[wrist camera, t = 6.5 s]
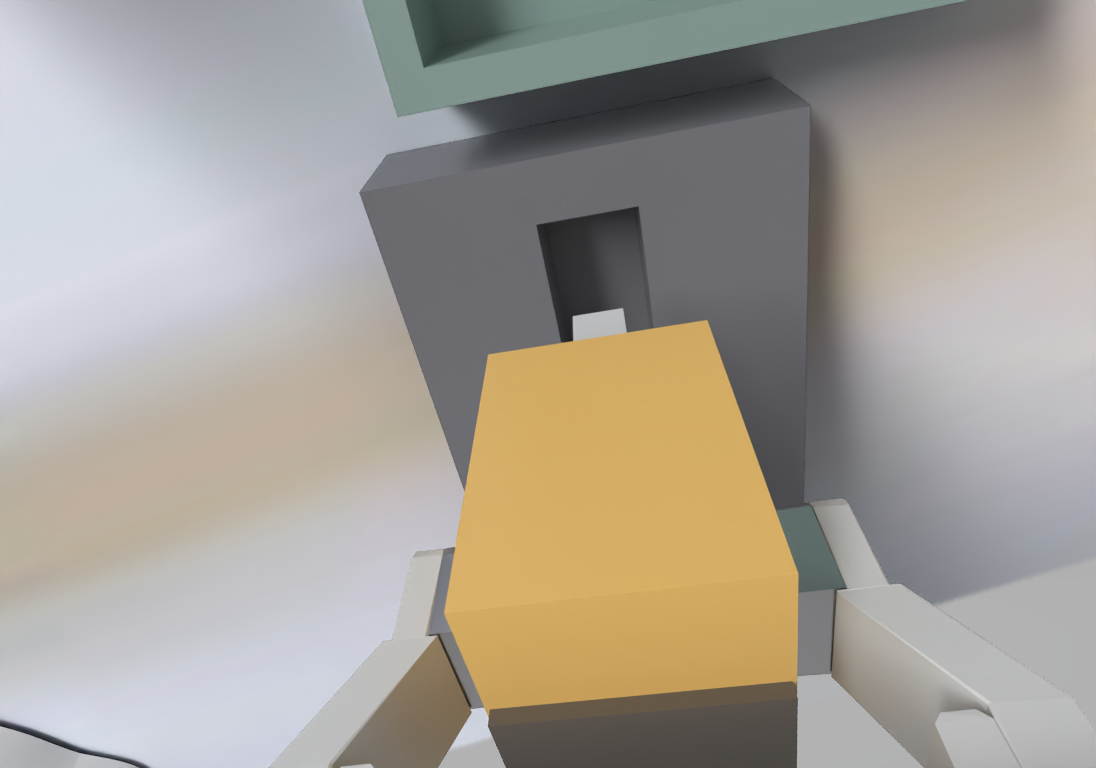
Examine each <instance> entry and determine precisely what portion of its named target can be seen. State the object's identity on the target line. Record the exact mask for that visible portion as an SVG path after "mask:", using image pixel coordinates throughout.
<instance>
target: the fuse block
mask: <svg viewBox="0 0 1096 768" xmlns="http://www.w3.org/2000/svg"><path fill="white" fill-rule="evenodd" d="M809 162H810V105H809V104H808V103H806V102H805V101H804V100H802V99H801V98H800V97H798V96H797V95H796V94H794V93H793V92H792V91H790V90H789V89H788V88H786V87H785V86H784V85H782V84H781V83H780V82H778V81H777V80H776V79H774V78H772V79H767V80H762V81H757V82H752V83H747V84H742V85H737V86H732V87H727V88H721V89H716V90H711V91H706V92H701V93H696V94H691V95H686V96H681V97H676V98H671V99H666V100H661V101H656V102H651V103H646V104H641V105H636V106H631V107H626V108H621V109H616V110H611V111H605V112H600V113H595V114H590V115H585V116H580V117H575V118H570V119H565V120H560V121H555V122H550V123H545V124H540V125H535V126H530V127H525V128H520V129H515V130H510V131H505V132H500V133H495V134H490V135H484V136H479V137H474V138H469V139H464V140H459V141H454V142H449V143H444V144H439V145H434V146H429V147H424V148H419V149H414V150H409V151H404V152H399V153H394V154H389V155H386V157H385V158H384V159H383V161H382V162H381V164H380V165H379V166H378V168H377V169H376V170H375V172H374V173H373V174H372V176H371V177H370V179H369V180H368V181H367V183H366V184H365V185H364V187H363V188H362V190H361V191H360V192H359V193H360V196H361V198H362V201H363V204H364V207H365V210H366V213H367V215H368V218H369V221H370V224H371V227H372V230H373V233H374V235H375V238H376V241H377V244H378V247H379V250H380V252H381V255H382V258H383V261H384V264H385V267H386V269H387V272H388V275H389V278H390V281H391V284H392V287H393V289H394V292H395V295H396V298H397V301H398V304H399V306H400V309H401V312H402V315H403V318H404V321H405V323H406V326H407V329H408V332H409V335H410V338H411V341H412V343H413V346H414V349H415V352H416V355H417V358H418V360H419V363H420V366H421V369H422V372H423V375H424V377H425V380H426V383H427V386H428V389H429V392H430V395H431V397H432V400H433V403H434V406H435V409H436V412H437V414H438V417H439V420H440V423H441V426H442V429H443V431H444V434H445V437H446V440H447V443H448V446H449V449H450V451H451V454H452V457H453V460H454V463H455V466H456V468H457V471H458V474H459V477H460V480H461V483H462V485H463V488H464V491H465V487H466V481H467V476H468V470H469V464H470V458H471V452H472V446H473V440H474V435H475V429H476V423H477V417H478V411H479V405H480V399H481V394H482V388H483V382H484V376H485V370H486V364H487V358H488V354H495V353H501V352H507V351H514V350H520V349H527V348H533V347H539V346H546V345H552V344H558V343H565V342H571V341H573V316H577V315H583V314H590V313H596V312H602V311H608V310H614V309H620V308H623V311H624V318H625V324H626V331H627V333H628V332H634V331H641V330H647V329H653V328H660V327H666V326H672V325H679V324H685V323H691V322H698V321H704V320H707V321H708V324H709V326H710V329H711V332H712V335H713V337H714V340H715V343H716V346H717V349H718V351H719V354H720V357H721V360H722V363H723V365H724V368H725V371H726V374H727V376H728V379H729V382H730V385H731V388H732V390H733V393H734V396H735V399H736V401H737V404H738V407H739V410H740V413H741V415H742V418H743V421H744V424H745V427H746V429H747V432H748V435H749V438H750V440H751V443H752V446H753V449H754V452H755V454H756V457H757V460H758V463H759V465H760V468H761V471H762V474H763V477H764V479H765V482H766V485H767V488H768V491H769V493H770V496H771V499H772V502H773V504H774V507H778V506H786V505H793V504H800V503H804V451H805V393H806V335H807V278H808V220H809Z"/></svg>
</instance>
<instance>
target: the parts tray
mask: <svg viewBox="0 0 1096 768" xmlns="http://www.w3.org/2000/svg"><path fill="white" fill-rule="evenodd" d="M362 1H363V4H364V7H365V11H366V14H367V17H368V20H369V24H370V27H371V30H372V34H373V37H374V40H375V44H376V47H377V50H378V54H379V57H380V60H381V64H382V67H383V70H384V73H385V77H386V80H387V83H388V87H389V90H390V93H391V97H392V100H393V103H394V107H395V110H396V113H397V117H401V116H406V115H411V114H415V113H420V112H425V111H430V110H435V109H440V108H445V107H450V106H455V105H459V104H464V103H469V102H474V101H479V100H484V99H489V98H494V97H499V96H503V95H508V94H513V93H518V92H523V91H528V90H533V89H538V88H542V87H547V86H552V85H557V84H562V83H567V82H572V81H577V80H582V79H586V78H591V77H596V76H601V75H606V74H611V73H616V72H621V71H626V70H630V69H635V68H640V67H645V66H650V65H655V64H660V63H665V62H669V61H674V60H679V59H684V58H689V57H694V56H699V55H704V54H709V53H713V52H718V51H723V50H728V49H733V48H738V47H743V46H748V45H753V44H757V43H762V42H767V41H772V40H777V39H782V38H787V37H792V36H797V35H801V34H806V33H811V32H816V31H821V30H826V29H831V28H836V27H840V26H845V25H850V24H855V23H860V22H865V21H870V20H875V19H880V18H884V17H889V16H894V15H899V14H904V13H909V12H914V11H919V10H924V9H928V8H933V7H938V6H943V5H948V4H953V3H958V2H963V1H967V0H362Z"/></svg>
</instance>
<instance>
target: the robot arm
mask: <svg viewBox="0 0 1096 768" xmlns="http://www.w3.org/2000/svg"><path fill="white" fill-rule="evenodd" d="M775 510H776V513H777V516H778V518H779V521H780V524H781V527H782V529H783V532H784V535H785V538H786V541H787V543H788V546H789V549H790V552H791V555H792V557H793V560H794V563H795V566H796V568H797V571H798V650H797V676H804V675H817V674H832V677H833V678H834V679H835V680H836V681H837V682H838V683H839V684H840V685H841V686H842V687H843V688H844V689H845V690H846V691H847V692H848V693H849V694H850V695H851V696H852V697H853V698H854V699H855V700H856V701H857V702H858V703H859V704H860V705H861V706H862V707H863V708H864V709H865V710H866V711H867V712H868V713H869V714H870V715H871V716H872V717H873V718H874V719H875V720H876V721H877V722H878V723H879V724H880V725H882V727H883V728H884V729H886V731H887V732H888V733H890V734H891V735H892V736H893V737H894V738H895V739H896V740H897V741H898V742H899V743H900V744H901V745H902V746H903V747H904V748H905V749H906V750H907V751H908V752H909V753H910V754H911V755H912V756H913V757H914V758H915V759H916V760H917V761H918V762H919V763H920V764H921V765H922V766H923V767H924V768H1096V731H1095V730H1094V728H1093V727H1092V725H1091V724H1090V722H1089V721H1088V719H1087V718H1086V716H1085V715H1084V713H1083V712H1082V710H1081V709H1080V707H1079V706H1078V704H1077V703H1076V701H1075V700H1074V698H1073V697H1071V696H1070V695H1068V694H1067V693H1065V692H1064V691H1062V690H1060V689H1059V688H1058V687H1056V686H1055V685H1053V684H1052V683H1050V682H1048V681H1047V680H1045V679H1044V678H1042V677H1041V676H1039V675H1038V674H1036V673H1035V672H1033V671H1032V670H1030V669H1029V668H1027V667H1026V666H1024V665H1023V664H1021V663H1020V662H1018V661H1017V660H1015V659H1014V658H1012V657H1011V656H1009V655H1008V654H1006V653H1004V652H1003V651H1002V650H1000V649H999V648H997V647H996V646H994V645H993V644H991V643H990V642H988V641H987V640H985V639H984V638H982V637H981V636H979V635H978V634H976V633H975V632H973V631H971V630H970V629H968V628H967V627H965V626H964V625H962V624H961V623H959V622H958V621H956V620H955V619H953V618H952V617H950V616H949V615H947V614H946V613H944V612H943V611H941V610H940V609H938V608H937V607H935V606H934V605H932V604H931V603H929V602H928V601H926V600H925V599H923V598H922V597H920V596H919V595H917V594H916V593H914V592H913V591H911V590H910V589H908V588H907V587H905V586H904V585H902V584H889V582H888V580H887V578H886V576H885V574H884V572H883V570H882V568H881V566H880V564H879V563H878V561H877V559H876V557H875V555H874V553H873V551H872V549H871V547H870V545H869V543H868V541H867V539H866V537H865V535H864V533H863V531H862V529H861V527H860V525H859V523H858V521H857V519H856V517H855V515H854V513H853V511H852V509H851V507H850V505H849V503H848V502H847V501H846V500H845V499H843V498H838V499H830V500H823V501H815V502H809V503H808V504H807V503H800V504H793V505H786V506H778V507H775ZM454 552H455V547H452V548H447V549H438V550H428V551H419V552H416V553H415V555H414V556H413V558H412V559H411V561H410V566H409V570H408V574H407V578H406V583H405V587H404V591H403V595H402V600H401V604H400V608H399V612H398V617H397V621H396V625H395V629H394V634H393V638H392V640H389V641H383V642H382V643H381V644H380V645H379V646H378V647H377V648H376V649H375V651H374V652H373V653H372V654H371V655H370V656H369V657H368V658H367V659H366V661H365V662H364V663H363V664H362V665H361V666H360V667H359V668H358V669H357V670H356V672H355V673H354V674H353V675H352V676H351V677H350V678H349V679H348V680H347V682H346V683H345V684H344V685H343V686H342V687H341V688H340V689H339V690H338V691H337V693H336V694H335V695H334V696H333V697H332V698H331V699H330V700H329V701H328V703H327V704H326V705H325V706H324V707H323V708H322V709H321V710H320V711H319V713H318V714H317V715H316V716H315V717H314V718H313V719H312V720H311V721H310V722H309V724H308V725H307V726H306V727H305V728H304V729H303V730H302V731H301V732H300V734H299V735H298V736H297V737H296V738H295V739H294V740H293V741H292V742H291V743H290V745H289V746H288V747H287V748H286V749H285V750H284V751H283V752H282V753H281V755H280V756H279V757H278V758H277V759H276V760H275V761H274V762H273V763H272V764H271V766H270V767H269V768H438V766H439V765H440V763H441V762H442V760H443V758H444V757H445V755H446V754H447V752H448V750H449V749H450V747H451V745H452V744H453V742H454V740H455V739H456V737H457V736H458V734H459V732H460V731H461V729H462V727H463V726H464V724H465V722H466V721H467V719H468V718H469V716H470V714H471V713H472V712H471V710H470V709H475V708H483V707H484V705H483V703H482V701H481V698H480V696H479V694H478V691H477V689H476V687H475V684H474V682H473V680H472V678H471V675H470V673H469V671H468V668H467V666H466V664H465V661H464V659H463V657H462V654H461V652H460V650H459V647H458V645H457V643H456V640H455V638H454V636H453V633H452V631H451V629H450V626H449V624H448V622H447V619H446V617H445V615H444V610H445V604H446V599H447V593H448V587H449V581H450V575H451V569H452V563H453V558H454ZM0 768H138V767H136V766H134V765H131V764H128V763H125V762H121V761H117V760H112V759H108V758H103V757H98V756H92V755H87V754H81V753H78V752H74V751H71V750H68V749H65V748H63V747H60V746H57V745H55V744H52V743H50V742H47V741H44V740H42V739H39V738H36V737H34V736H31V735H28V734H25V733H22V732H19V731H15V730H12V729H8V728H5V727H1V726H0Z"/></svg>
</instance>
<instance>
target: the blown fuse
mask: <svg viewBox="0 0 1096 768" xmlns="http://www.w3.org/2000/svg"><path fill="white" fill-rule="evenodd" d="M444 615H445V617H446V619H447V622H448V624H449V626H450V629H451V631H452V633H453V636H454V638H455V640H456V643H457V645H458V647H459V650H460V652H461V654H462V657H463V659H464V661H465V664H466V666H467V668H468V671H469V673H470V675H471V678H472V680H473V682H474V684H475V687H476V689H477V691H478V694H479V696H480V698H481V701H482V703H483V705H484V708H485V710H486V712H487V715H488V717H489V722H488V727H489V730H490V732H491V734H492V736H493V739H494V741H495V743H496V746H497V748H498V750H499V752H500V755H501V757H502V759H503V762H504V764H505V766H506V768H797V704H798V698H797V650H798V571H797V568H796V566H795V563H794V560H793V557H792V555H791V552H790V549H789V546H788V543H787V541H786V538H785V535H784V532H783V529H782V527H781V524H780V521H779V518H778V516H777V513H776V510H775V507H774V504H773V502H772V499H771V496H770V493H769V491H768V488H767V485H766V482H765V479H764V477H763V474H762V471H761V468H760V465H759V463H758V460H757V457H756V454H755V452H754V449H753V446H752V443H751V440H750V438H749V435H748V432H747V429H746V427H745V424H744V421H743V418H742V415H741V413H740V410H739V407H738V404H737V401H736V399H735V396H734V393H733V390H732V388H731V385H730V382H729V379H728V376H727V374H726V371H725V368H724V365H723V363H722V360H721V357H720V354H719V351H718V349H717V346H716V343H715V340H714V337H713V335H712V332H711V329H710V326H709V324H708V321H707V320H704V321H698V322H691V323H685V324H679V325H672V326H666V327H660V328H653V329H647V330H641V331H634V332H628V333H627V331H626V324H625V318H624V311H623V308H620V309H614V310H608V311H602V312H596V313H590V314H583V315H577V316H573V341H571V342H565V343H558V344H552V345H546V346H539V347H533V348H527V349H520V350H514V351H507V352H501V353H495V354H488V358H487V364H486V370H485V376H484V382H483V388H482V394H481V399H480V405H479V411H478V417H477V423H476V429H475V435H474V440H473V446H472V452H471V458H470V464H469V470H468V476H467V481H466V487H465V493H464V499H463V505H462V511H461V517H460V522H459V528H458V534H457V540H456V546H455V552H454V558H453V563H452V569H451V575H450V581H449V587H448V593H447V599H446V604H445V610H444Z"/></svg>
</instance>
